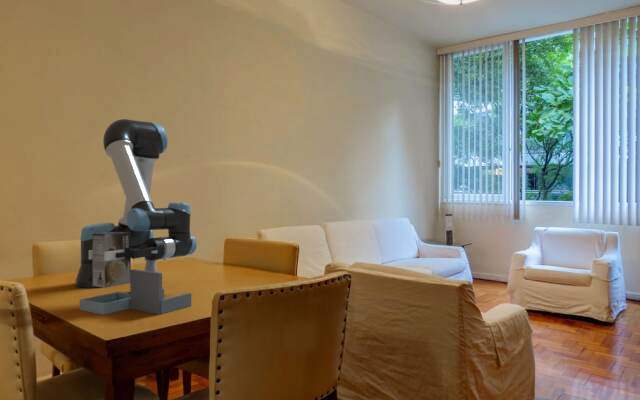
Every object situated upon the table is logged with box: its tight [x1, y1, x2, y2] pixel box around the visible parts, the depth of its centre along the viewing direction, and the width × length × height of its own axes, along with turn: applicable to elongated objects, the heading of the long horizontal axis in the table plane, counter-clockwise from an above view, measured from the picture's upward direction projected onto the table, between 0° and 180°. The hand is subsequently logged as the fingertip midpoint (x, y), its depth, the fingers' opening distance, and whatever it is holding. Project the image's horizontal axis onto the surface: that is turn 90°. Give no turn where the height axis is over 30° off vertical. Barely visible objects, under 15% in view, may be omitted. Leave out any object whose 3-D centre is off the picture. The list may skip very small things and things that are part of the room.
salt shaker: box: [144, 257, 158, 272], centre depth 172 cm, size 6×6×13 cm
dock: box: [129, 269, 192, 315], centre depth 145 cm, size 13×13×12 cm
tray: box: [79, 291, 130, 316], centre depth 144 cm, size 11×14×3 cm
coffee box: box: [92, 232, 132, 289], centre depth 144 cm, size 9×6×16 cm
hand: (97, 255), depth 140 cm, fingers closed on coffee box, 7 cm apart
